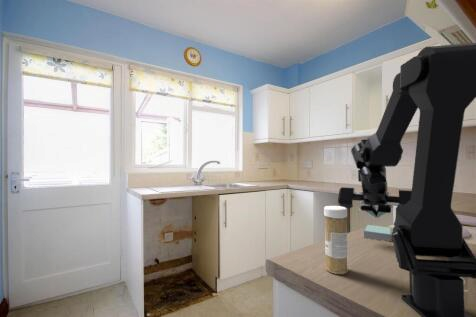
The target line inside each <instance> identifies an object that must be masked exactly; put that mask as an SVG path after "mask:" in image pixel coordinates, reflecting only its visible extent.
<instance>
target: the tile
mask: <svg viewBox="0 0 476 317" xmlns="http://www.w3.org/2000/svg"><path fill="white" fill-rule="evenodd" d="M392 232H393V228H392V227H388V226H380V225H373V224H366V226H365V228H364V230H363V239H368V238H369V239H370V240H374V239H376V240H375V241H381V240H384V241H383V242H388V241H391V242H390V243H392V242H393V237H392Z"/></svg>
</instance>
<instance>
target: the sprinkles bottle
mask: <svg viewBox="0 0 476 317" xmlns="http://www.w3.org/2000/svg"><path fill="white" fill-rule="evenodd" d="M323 215H324V221H325V222H324V226H325V229H324V250H325V251H324V252H325V266H324V267H325V270H326V271H328V273H330V274H331V273H332V274H334V275H335V274H336V275H345V274H347V273H348V272H349V269H348V231H347V229H348V228H347V220H348V208H345V207H342V206H339V205H326V206H324V207H323Z"/></svg>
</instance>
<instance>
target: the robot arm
mask: <svg viewBox="0 0 476 317" xmlns="http://www.w3.org/2000/svg"><path fill="white" fill-rule="evenodd" d="M475 99H476V42H469V43H468V42H467V43H454V44H445V45H435V46H434V45H432V46H425V47H424V48H422V49H421V50H420V51H419V52H418V54H417V55H416V56H413V57H411V58H410V59H408V60H407V61H406V62H404V63H402V64H401V65H400V72H399V73H397V74H396V75H395V76H394V78H393V81H392V92H391V95H390V97H389V100H388V103H387V105H386V108H385V110H384V112H383V115H382V118H381V119H380V122H379V125H378V126H377V127H378V128H377V130H376V132H375V133H373V134H372V135H370V136H369V137H368V138H367V139H361V140H360V142H359V143H356V144H355V145H353V147H352V148H351V151H350V152H351V155H352V158H353V160H354V164H355V166H356V168H357V169H358V170H357V178H358V182H359V183H360V184H361V191H362V192H361V191H360V192H359V191H358V192H355V187H347V186H345V187H340V188H339V191H338V197H337V203H338V206H342V207H345V208H347V209H352V208H353V207H354V204H353V202H354V201H359V203H360V210H361V211H364V212H366V213H367V214H370V215H371V216H373V217H374V218H376V219H378V218H380V217H381V216H383V215H385V214H391V213H392V206H395V217H394V218H395V220H394V222H393V228H392V242H393V248H394V254H395V258H396V261H397V263H398V267H399V268H400V269H401V270H404V271H406V272H407V271H408V272H409V273H408V275H409V293H410V294H401V295H400V297H401V300H402V301H404V303H406V304H407V305H408V306H409V307H411V308H412V309H413V310H414V311H415V312H416V313H418V314H419V315H420V316H421V317H472V316H471V315H470V314H468V313H467V312H466V311H465V284H464V278H469V279H473V280H475V279H476V256H475V254H474V253H473V251H472V249H471V248H470V247H469V245H468V243H467V242H466V240H465V239H464V237H463V236H464V235H463V230H464V229H463V228H464V227H463V224H462V222H461V221H460V220H459V218H458V216H457V215H456V213H455V212H454V210H453V208H452V201H453V194H454V187H455V181H456V173H457V172H456V171H457V166H458V159H459V152H460V145H461V139H462V138H461V137H462V132H463V125H464V117H465V113H466V112H465V111H466V109H467V108H468V107H469V105H471V103H472V102H474V100H475ZM417 110H419V119H418V127H417V128H418V129H417V138H416V146H415V147H416V148H415V157H414V166H413V167H414V168H413V175H412V184H411V185H412V187H411V189H410V190H409V189H398V196H394V195H393V196H392V195H391V192H390V191H388V181H387V169H386V168H387V167H390V168H391V167H392V168H393V167H396V166H398V164H399V163H400V161H402V160H401V159H402V156H403V153H404V149H403V147H402V144H401V142H402V140H403V138H404V135H405V134H406V131H407V130H408V128H409V126H410V125H411V122H412V120H413V118H414V116H416V115H415V114H416V113H417ZM376 206H377V207H376ZM417 257H430V258H431V257H432V258H433V257H435V258H448V260H445V259H444V260H443V259H426V258H425V259H424V258H417Z"/></svg>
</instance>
